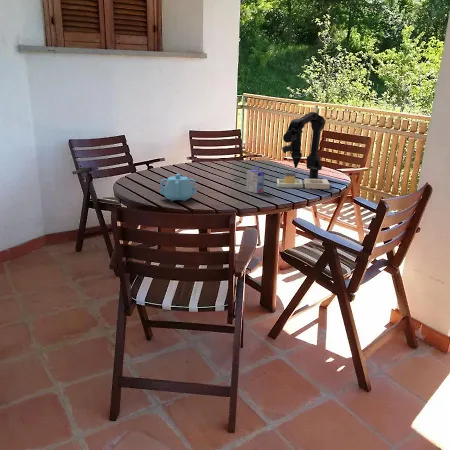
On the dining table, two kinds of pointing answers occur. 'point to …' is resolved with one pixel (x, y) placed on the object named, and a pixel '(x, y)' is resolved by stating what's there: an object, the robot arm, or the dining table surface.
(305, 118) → the robot arm
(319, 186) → the white square frame
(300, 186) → the parts tray
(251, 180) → the ink cartridge box
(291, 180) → the block
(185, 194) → the decorative pot
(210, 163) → the dining table surface
